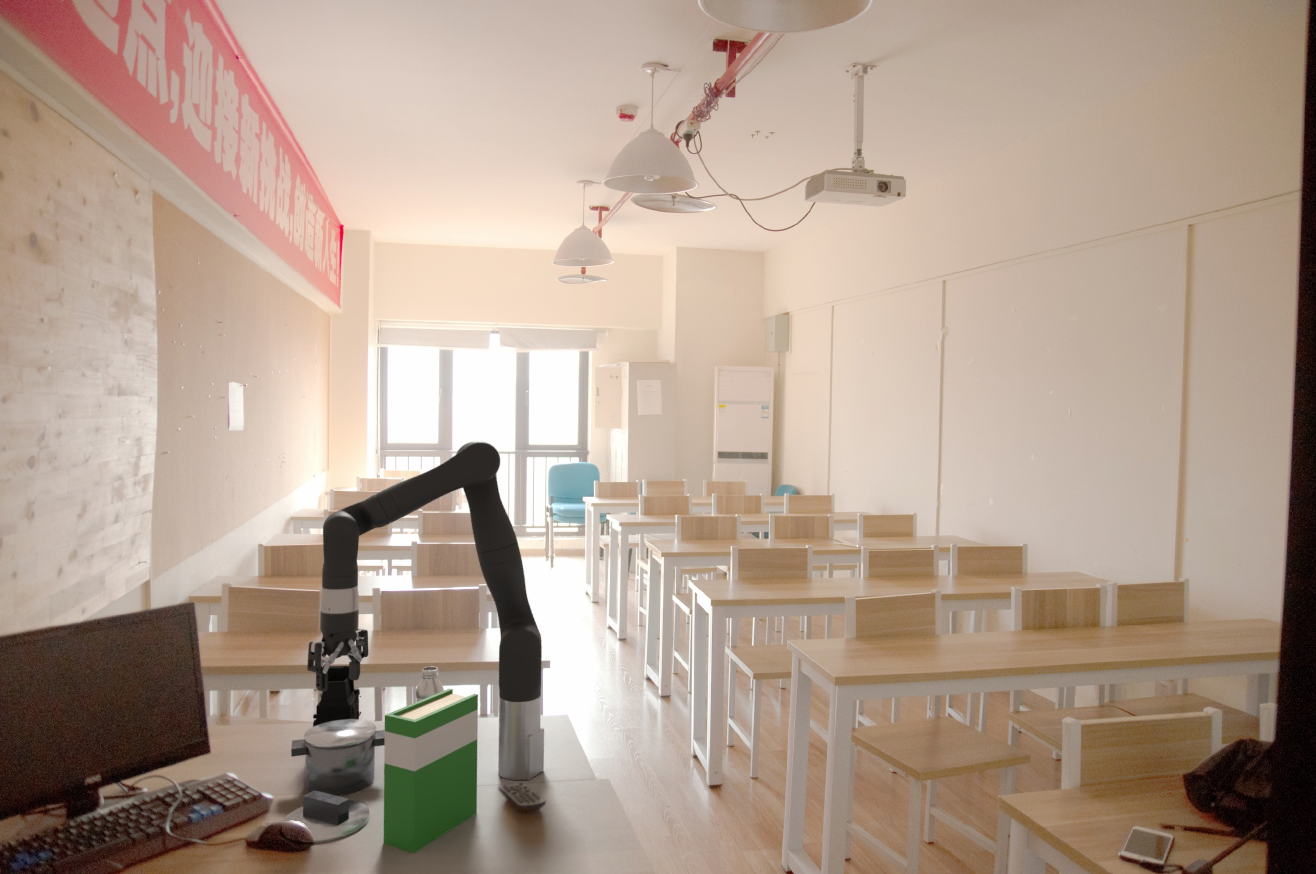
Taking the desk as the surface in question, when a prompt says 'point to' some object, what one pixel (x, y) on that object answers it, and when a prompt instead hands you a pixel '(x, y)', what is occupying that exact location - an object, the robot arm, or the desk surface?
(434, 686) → the plastic bottle
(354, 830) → the lid
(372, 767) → the pot
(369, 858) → the desk surface
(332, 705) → the camera
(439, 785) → the hardback book
